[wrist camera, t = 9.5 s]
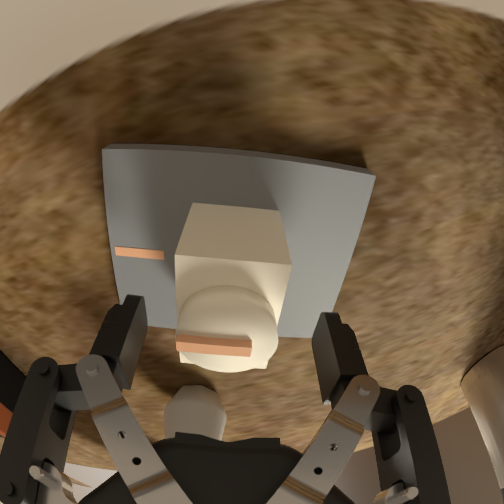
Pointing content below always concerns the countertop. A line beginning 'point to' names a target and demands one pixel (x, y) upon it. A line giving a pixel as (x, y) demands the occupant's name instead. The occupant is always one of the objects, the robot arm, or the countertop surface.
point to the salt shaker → (195, 413)
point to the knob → (230, 286)
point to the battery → (8, 391)
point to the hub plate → (231, 194)
